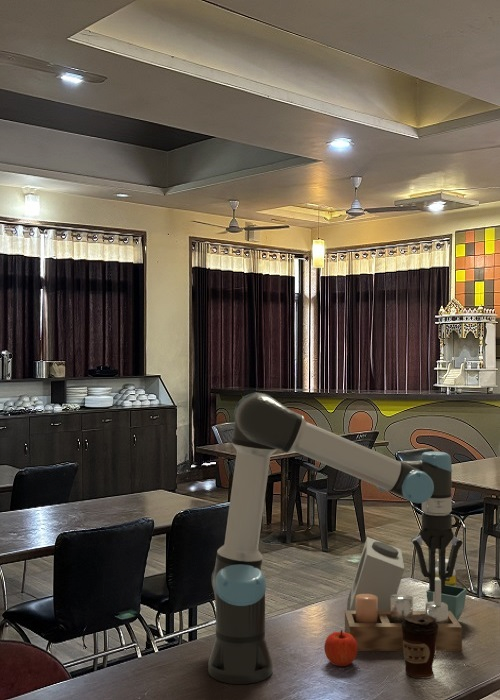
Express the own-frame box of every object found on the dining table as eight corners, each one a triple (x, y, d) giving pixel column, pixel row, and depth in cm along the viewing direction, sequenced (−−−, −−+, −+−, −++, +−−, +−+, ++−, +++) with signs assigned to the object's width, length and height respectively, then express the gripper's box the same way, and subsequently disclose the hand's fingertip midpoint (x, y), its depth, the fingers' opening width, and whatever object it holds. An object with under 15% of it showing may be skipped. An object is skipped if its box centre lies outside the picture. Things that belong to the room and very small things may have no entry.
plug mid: (392, 628, 200) (392, 600, 200) (388, 620, 206) (389, 593, 206) (414, 628, 200) (414, 600, 200) (410, 620, 206) (410, 593, 206)
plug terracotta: (357, 628, 200) (357, 600, 200) (354, 620, 206) (354, 593, 206) (379, 628, 200) (379, 600, 200) (375, 620, 206) (375, 593, 206)
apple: (338, 654, 195) (338, 621, 195) (364, 663, 189) (364, 630, 189) (317, 663, 189) (317, 630, 189) (343, 673, 184) (343, 639, 184)
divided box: (349, 650, 197) (349, 626, 197) (344, 632, 209) (344, 610, 209) (461, 651, 197) (461, 627, 197) (450, 633, 209) (450, 611, 209)
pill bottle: (434, 601, 235) (434, 562, 235) (432, 594, 241) (432, 557, 241) (456, 602, 234) (456, 563, 234) (454, 595, 240) (454, 557, 240)
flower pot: (467, 620, 219) (467, 588, 219) (457, 629, 212) (457, 596, 212) (436, 614, 224) (436, 582, 224) (425, 623, 216) (425, 591, 216)
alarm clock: (347, 600, 236) (347, 533, 236) (401, 602, 234) (401, 534, 234) (345, 624, 216) (345, 550, 216) (404, 627, 214) (404, 552, 214)
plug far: (427, 635, 200) (427, 608, 200) (423, 627, 206) (423, 601, 206) (450, 636, 200) (450, 608, 200) (445, 628, 206) (445, 601, 205)
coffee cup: (430, 685, 177) (430, 627, 177) (395, 676, 182) (395, 620, 181) (442, 671, 185) (443, 616, 184) (409, 663, 189) (409, 609, 189)
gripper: (414, 515, 199) (414, 608, 199) (465, 515, 199) (466, 608, 199) (408, 509, 206) (409, 599, 207) (458, 509, 206) (458, 599, 206)
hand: (437, 603), depth 203 cm, fingers closed
